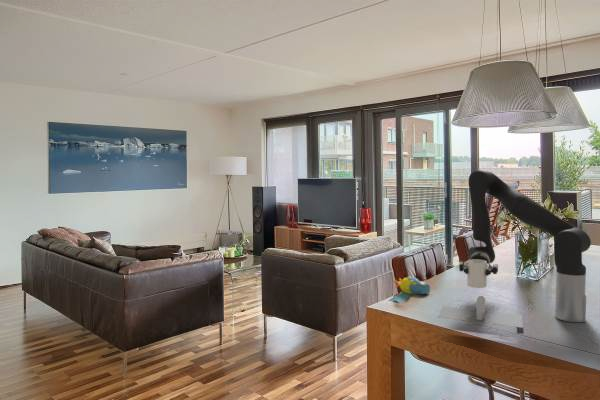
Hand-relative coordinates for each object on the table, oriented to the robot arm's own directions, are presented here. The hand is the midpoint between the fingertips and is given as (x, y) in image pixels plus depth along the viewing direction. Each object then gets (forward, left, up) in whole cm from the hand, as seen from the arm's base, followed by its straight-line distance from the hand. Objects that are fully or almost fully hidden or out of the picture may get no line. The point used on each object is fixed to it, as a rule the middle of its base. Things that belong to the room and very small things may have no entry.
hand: (476, 272), depth 157 cm
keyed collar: (0, -2, -5) cm, 6 cm away
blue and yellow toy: (+28, -27, -20) cm, 44 cm away
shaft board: (-1, -4, -19) cm, 19 cm away
